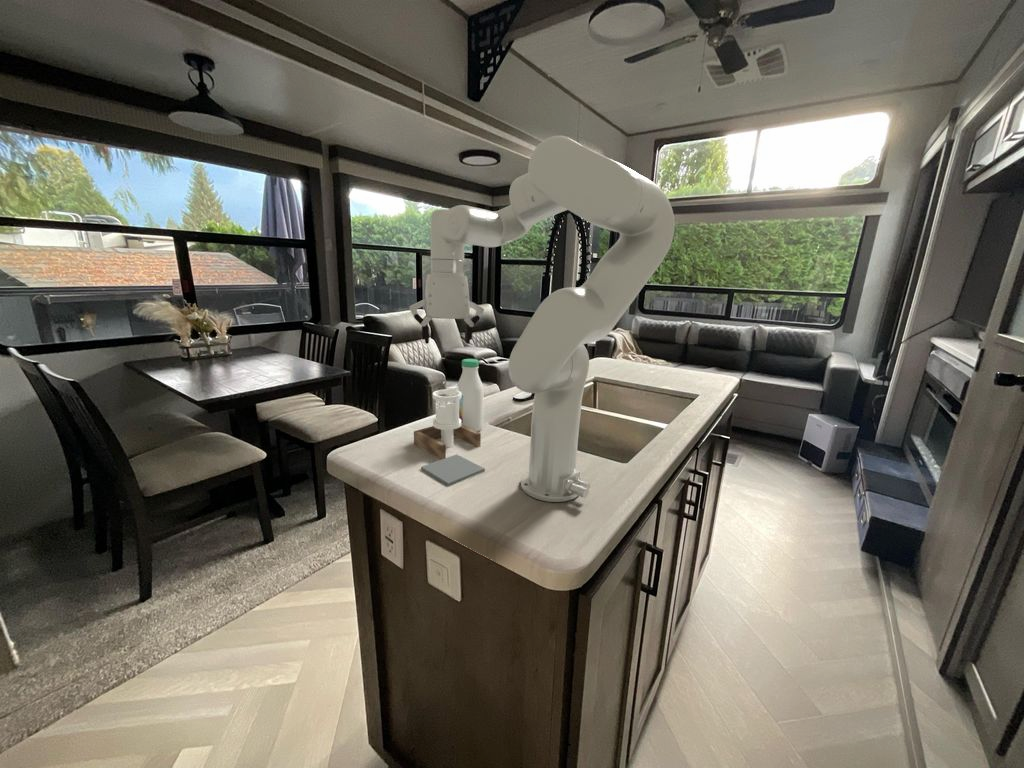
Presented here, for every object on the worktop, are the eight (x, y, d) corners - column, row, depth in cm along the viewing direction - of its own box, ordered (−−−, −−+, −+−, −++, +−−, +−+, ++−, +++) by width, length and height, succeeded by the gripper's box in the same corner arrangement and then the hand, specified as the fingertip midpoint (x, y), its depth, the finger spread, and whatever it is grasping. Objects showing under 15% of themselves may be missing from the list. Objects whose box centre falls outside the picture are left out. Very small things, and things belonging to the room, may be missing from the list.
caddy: (480, 446, 103) (480, 433, 102) (442, 459, 94) (442, 445, 93) (451, 432, 111) (451, 421, 110) (413, 444, 102) (413, 431, 101)
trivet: (484, 471, 89) (484, 468, 89) (448, 485, 82) (448, 483, 82) (456, 456, 96) (456, 454, 96) (421, 469, 89) (421, 466, 89)
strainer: (466, 444, 103) (467, 388, 100) (447, 453, 98) (447, 394, 94) (446, 437, 107) (446, 383, 103) (427, 445, 101) (426, 388, 98)
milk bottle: (484, 424, 118) (486, 358, 113) (480, 434, 110) (481, 363, 105) (459, 423, 119) (459, 356, 114) (452, 432, 111) (453, 361, 106)
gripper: (481, 270, 97) (479, 340, 102) (408, 266, 93) (409, 340, 97) (487, 270, 90) (485, 345, 95) (409, 266, 86) (410, 345, 90)
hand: (447, 342), depth 96 cm, fingers open, 9 cm apart
